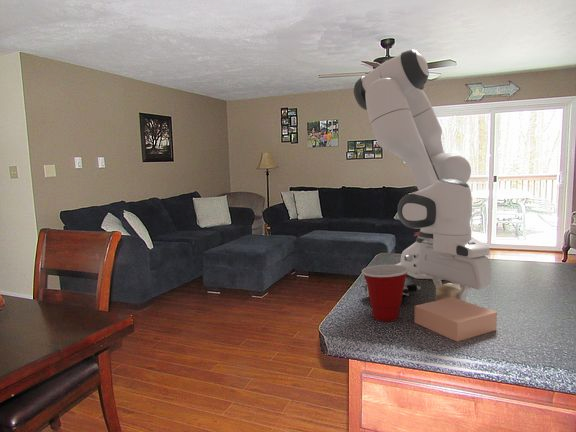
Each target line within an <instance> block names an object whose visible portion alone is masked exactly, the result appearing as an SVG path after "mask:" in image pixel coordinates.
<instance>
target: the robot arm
mask: <svg viewBox="0 0 576 432" xmlns="http://www.w3.org/2000/svg"><path fill="white" fill-rule="evenodd" d="M429 74H430V73H429V65H428V62H427V60H426V58H425V57H424V55H423V54H421V52H420V51H418V50H415V49H409V50H406V51H403V52H401V53H400V54H399V55H397V56H394V57H391V58H390V59H387V60H386V61H385V62H382V63H380V65H378V66H377V67H376V68H374V69H372V70H371V71H370V72H368V73H367V74H365V75H362V76H361V77H360V78H358V79H357V81H356V82H355V83H354V87H353V96H354V99H355V101H356V102H357V104H358V106H359V107H360V108H361V109H363V110H365V111H366V112H367V116H368V120H369V124H370V127H371V131H372V134H373V136H374V138H375V140H376V142H377V144H378V145H379V147H380V148H381V149H383V150H384V151H386V152H389V153H390V154H392V155H395V156H396V157H398V158H399V159H400V160H402V161H403V162H404V164H406V166H407V167H408V168H409V170H410V173H411V175H412V178H413V180H414V183H415V185H416V187H417V191H413V192H409V193H407V194H405V195H404V196H402V197H401V199H399V202H398V204H397V215H398V219H399V220H400V222H401V224H403V225H404V226H405V227H407V228H409V229H417V230H418V229H420V230H419V231H418V232H415V234H414V235H413V236H414V237H416V239H415V242H414V243H412V244H411V245H409V246H408V247H407V248H405V249H404V250H402V253H401V255H400V256H401V257H400V262H398V263H396V264H395V265H401V266H405V267H407V268H408V272H407V275H406V276H410V277H412V278H414V279H418V280H419V279H420V280H421V279H422V280H424V279H426V280H432V281H433V284H434V287H436V286H437V285H442V284H443V283H442V281H446V282H447V281H448V282H449V283H451V282H452V283H453V284H456V285H459V286H460V289H462V290H461V292H460V293H458V294H456V297H457V298H456V299H459V300H462V301H465V302H467V294H468V292H469V291H470V290H471V289H475V290H480V291H481V290H485V289H488V288H489V287H490V285H491V282H492V268H491V267H492V265H491V262H490V259H489V258H488V256H489V255H490V252H491V248H490V247H489V245H487V244H484V243H482V242H480V241H479V240H477V239H476V238H474V237H472V230H471V219H472V216H473V213H472V212H473V201H472V199H473V198H472V191H471V188H470V187H471V186H469V184H468V181H469V180H470V177H471V175H472V169H471V164H470V162H469V161H468V160H467V159H466V158H465V157H463V156H461V155H459V154H456V153H451V152H449V153H446V152H445V151H444V146H443V142H442V134H443V130H442V127H441V124H440V122H439V120H438V117H437V115H436V113H435V111H434V109H433V106H432V104H431V102H430V100H429V98H428V95H427V94H426V93H425V91H424V88H425V84H426V83H427V81H428V79H429Z"/></svg>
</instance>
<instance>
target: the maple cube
mask: <svg viewBox="0 0 576 432" xmlns="http://www.w3.org/2000/svg"><path fill="white" fill-rule="evenodd" d="M461 290H462V289H460V284H457V283H453V282H452V283H451V282H447V283H442V285H437V286H435V301H438V300H442V299H446V298H451V297H453V298H457V297H456V294H458V293H460V292H461Z"/></svg>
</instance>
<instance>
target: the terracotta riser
mask: <svg viewBox="0 0 576 432" xmlns="http://www.w3.org/2000/svg"><path fill="white" fill-rule="evenodd" d="M497 321H498V312H497V311H494V310H492V309H489V308H486V307H483V306H479V305H476V304H474V303H471V302H469V301H462V300H459V299H456V298H453V297H451V298H446V299H442V300H438V301H436V300H434V301H429V302H425V303H422V304H417V305H414V323H415V324H417V325H419V326H421V327H424V328H426V329H428V330H430V331H432V332H434V333H437V334H439V335H441V336H443V337H446V338H448V339H450V340H452V341H455V342H461V341H464V340H468V339H471V338H474V337H478V336H481V335H484V334H487V333H488V334H489V333H490V332H494V331H497V327H498V326H497V324H498V323H497Z"/></svg>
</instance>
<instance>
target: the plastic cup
mask: <svg viewBox="0 0 576 432" xmlns="http://www.w3.org/2000/svg"><path fill="white" fill-rule="evenodd" d="M407 272H408V268H407V267H405V266H401V265H396V264H378V265H371V266H367V267H364V268H363V269H361V274H362V275H363V277H364V280H365V283H366V285H367V287H368V292H369V295H368V297H369V303H370V305H371V311H372V312H371V313H372V316H373V318H374V319H375V320H377V321H381V322H394V321H397V319H399V316H400V309H401V305H402V302H403V299H402V295H403V289H404V283H405V282H406V279H407V276H408V275H407Z"/></svg>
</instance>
